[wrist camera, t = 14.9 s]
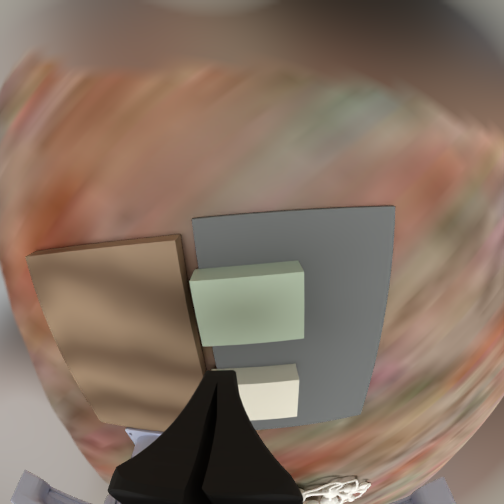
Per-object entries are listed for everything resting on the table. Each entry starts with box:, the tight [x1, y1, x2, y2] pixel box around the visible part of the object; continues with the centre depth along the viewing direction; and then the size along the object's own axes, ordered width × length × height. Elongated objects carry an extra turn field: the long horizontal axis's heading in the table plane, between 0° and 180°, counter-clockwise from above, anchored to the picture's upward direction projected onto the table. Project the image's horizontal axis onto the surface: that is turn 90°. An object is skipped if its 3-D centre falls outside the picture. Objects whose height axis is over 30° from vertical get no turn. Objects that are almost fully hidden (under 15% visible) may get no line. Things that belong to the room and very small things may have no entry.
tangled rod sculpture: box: [299, 479, 371, 504], centre depth 31 cm, size 19×14×4 cm
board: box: [26, 234, 207, 431], centre depth 20 cm, size 20×14×2 cm
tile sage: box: [189, 260, 304, 346], centre depth 18 cm, size 5×7×2 cm
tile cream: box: [211, 363, 299, 421], centre depth 21 cm, size 5×7×2 cm
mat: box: [192, 206, 395, 430], centre depth 21 cm, size 22×14×1 cm, turn 4°
